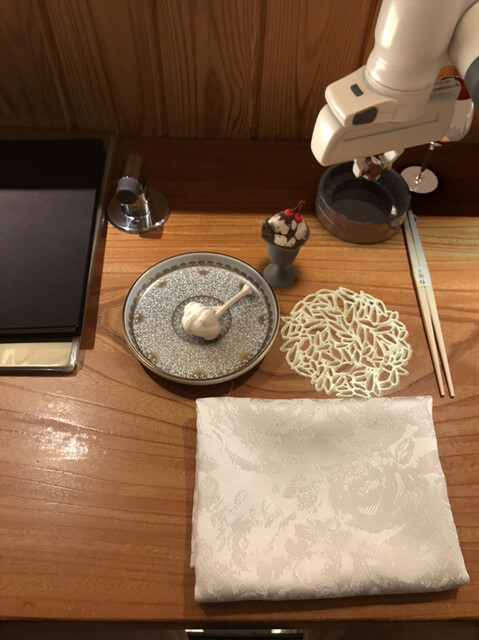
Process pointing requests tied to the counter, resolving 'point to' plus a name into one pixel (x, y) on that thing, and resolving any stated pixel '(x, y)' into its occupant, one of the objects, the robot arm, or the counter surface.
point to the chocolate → (373, 170)
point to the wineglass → (442, 142)
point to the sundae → (283, 245)
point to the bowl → (361, 203)
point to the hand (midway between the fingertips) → (370, 170)
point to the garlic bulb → (208, 316)
